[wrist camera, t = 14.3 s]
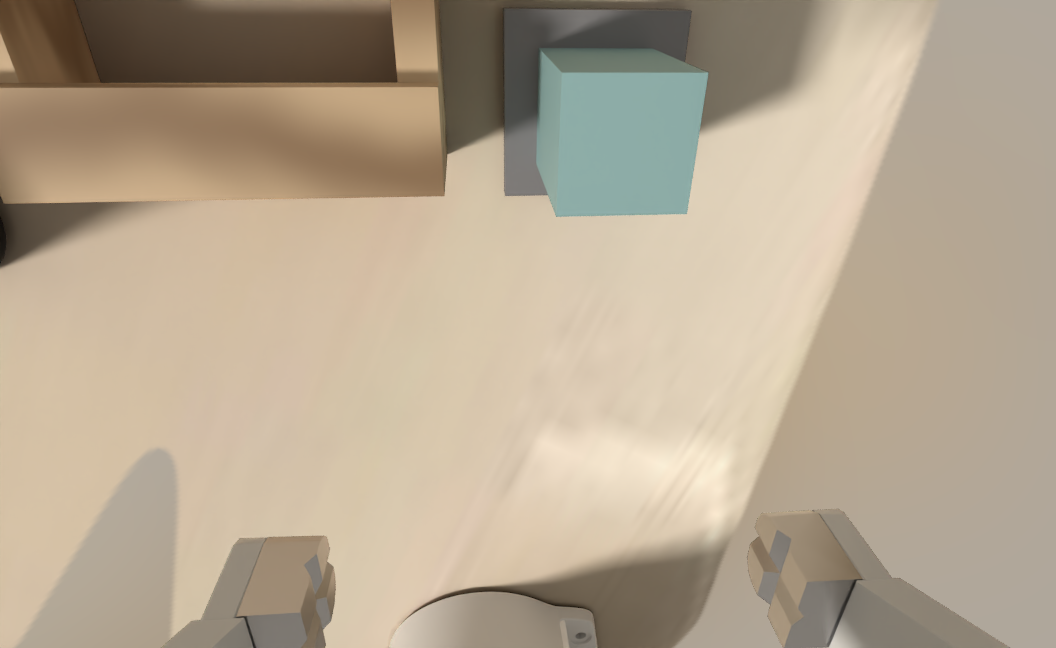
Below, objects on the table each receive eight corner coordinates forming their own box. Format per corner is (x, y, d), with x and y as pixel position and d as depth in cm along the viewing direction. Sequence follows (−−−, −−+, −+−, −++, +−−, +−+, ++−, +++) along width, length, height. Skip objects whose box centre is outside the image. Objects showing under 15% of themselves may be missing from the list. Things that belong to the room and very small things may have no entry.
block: (640, 162, 29) (686, 213, 23) (536, 163, 29) (556, 216, 23) (652, 48, 26) (708, 72, 20) (538, 47, 26) (561, 72, 20)
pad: (662, 187, 31) (667, 193, 30) (504, 190, 30) (505, 196, 29) (685, 9, 27) (691, 11, 26) (503, 8, 26) (504, 8, 25)
